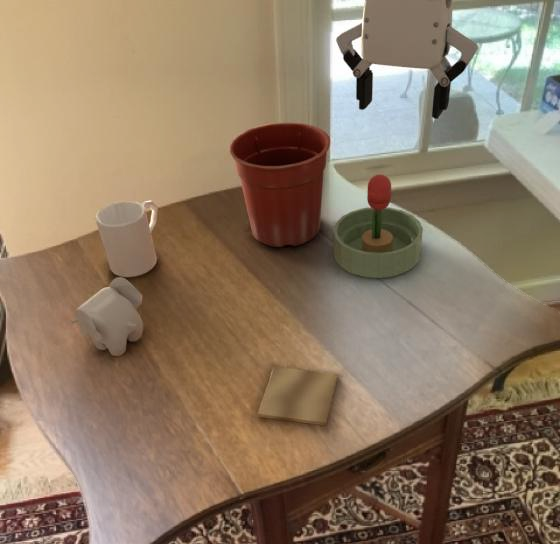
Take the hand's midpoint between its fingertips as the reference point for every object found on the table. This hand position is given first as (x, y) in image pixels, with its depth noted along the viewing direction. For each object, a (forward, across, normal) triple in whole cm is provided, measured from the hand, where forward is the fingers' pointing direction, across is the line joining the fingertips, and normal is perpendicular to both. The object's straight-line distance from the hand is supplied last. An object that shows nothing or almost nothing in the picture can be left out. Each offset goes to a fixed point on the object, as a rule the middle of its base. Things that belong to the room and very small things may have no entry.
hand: (400, 110), depth 85 cm
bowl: (+28, +5, -7) cm, 29 cm away
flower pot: (+28, +23, -9) cm, 37 cm away
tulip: (+27, +5, -7) cm, 28 cm away
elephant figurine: (+28, +34, +27) cm, 52 cm away
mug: (+28, +42, +8) cm, 51 cm away
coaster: (+28, +3, +28) cm, 39 cm away
